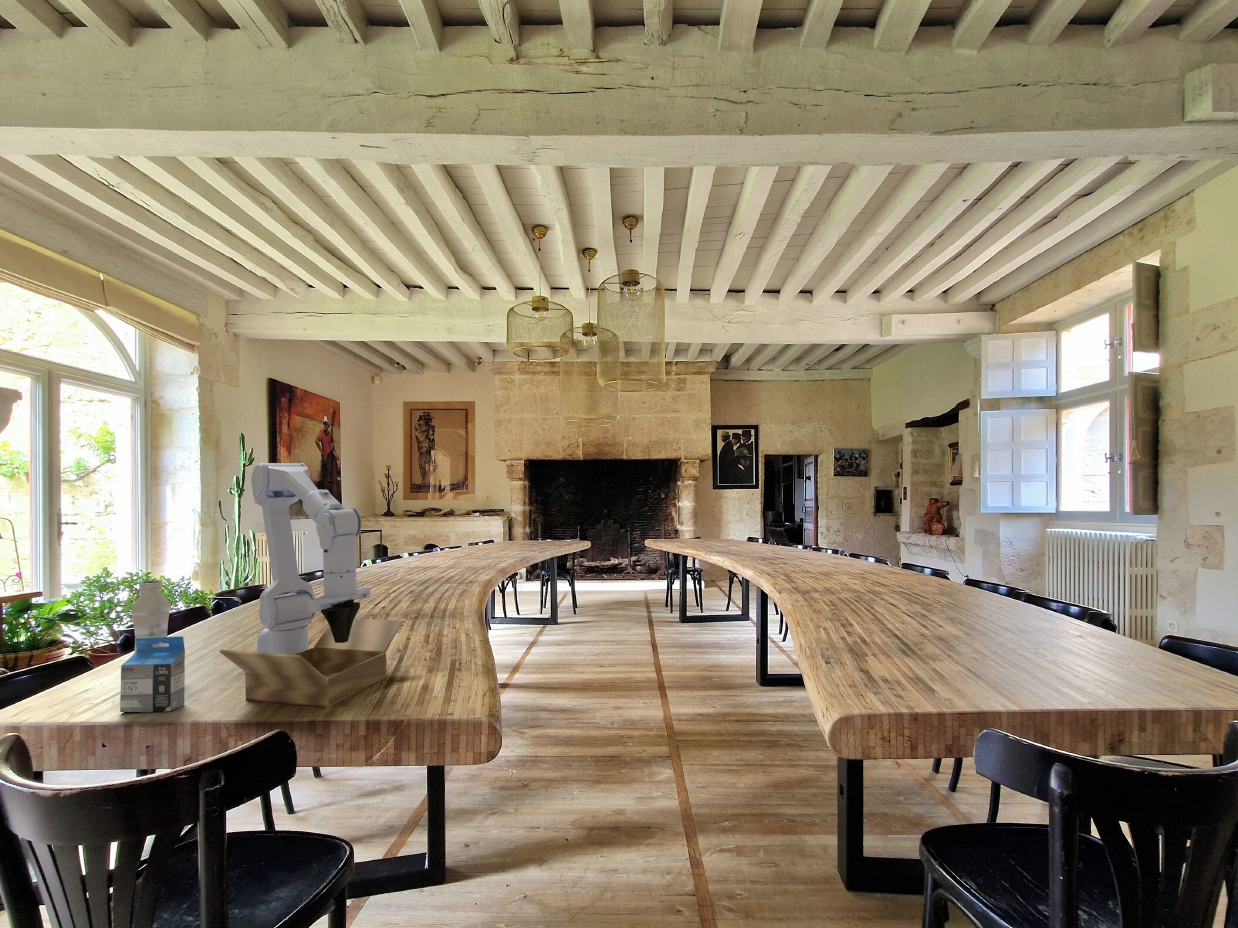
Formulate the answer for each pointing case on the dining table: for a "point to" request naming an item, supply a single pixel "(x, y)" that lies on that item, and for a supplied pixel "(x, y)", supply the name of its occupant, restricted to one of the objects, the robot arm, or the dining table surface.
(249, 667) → the flap near
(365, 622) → the flap far
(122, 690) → the label tape box
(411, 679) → the dining table surface
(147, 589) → the plastic bottle
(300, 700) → the carton
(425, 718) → the dining table surface
